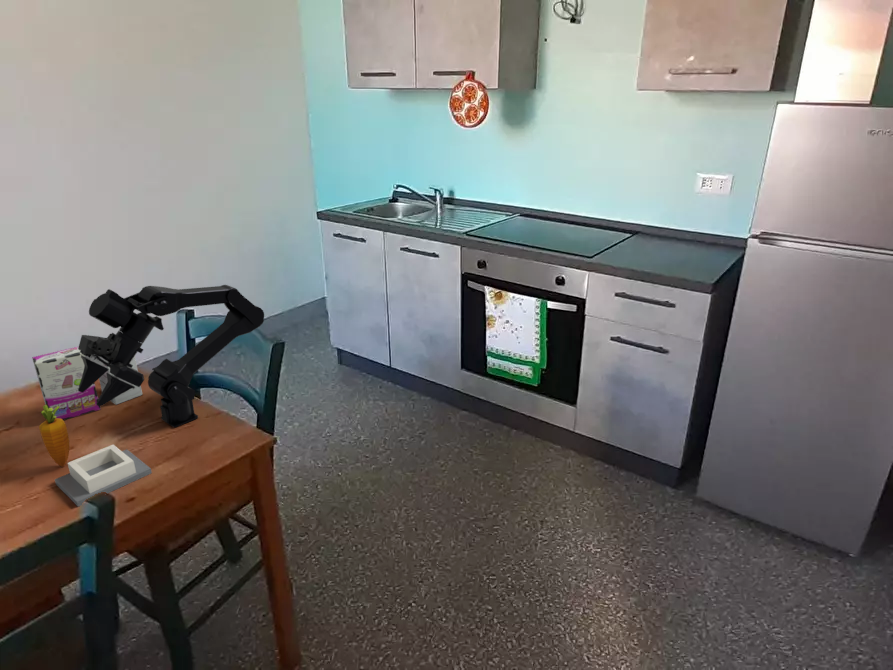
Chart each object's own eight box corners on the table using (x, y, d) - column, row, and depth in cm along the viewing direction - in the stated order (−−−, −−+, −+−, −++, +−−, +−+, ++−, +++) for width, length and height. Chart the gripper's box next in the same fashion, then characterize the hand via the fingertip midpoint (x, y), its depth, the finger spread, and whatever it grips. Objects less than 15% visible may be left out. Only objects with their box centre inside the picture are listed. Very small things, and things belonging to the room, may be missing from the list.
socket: (127, 453, 142) (124, 437, 140) (151, 473, 136) (148, 456, 134) (55, 484, 132) (51, 467, 130) (78, 506, 125) (73, 489, 123)
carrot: (52, 462, 139) (35, 402, 133) (77, 458, 140) (62, 398, 134) (47, 475, 134) (30, 414, 128) (74, 470, 136) (58, 410, 130)
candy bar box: (96, 402, 163) (83, 344, 156) (101, 410, 159) (88, 351, 153) (47, 415, 156) (31, 356, 150) (50, 424, 153) (34, 363, 146)
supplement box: (129, 386, 171) (121, 344, 166) (143, 395, 167) (135, 351, 162) (101, 396, 166) (92, 352, 161) (115, 405, 162) (105, 361, 157)
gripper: (80, 309, 140) (37, 370, 137) (119, 332, 129) (73, 399, 126) (122, 332, 149) (83, 390, 145) (162, 355, 138) (120, 418, 135)
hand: (89, 398), depth 138 cm, fingers open, 9 cm apart
